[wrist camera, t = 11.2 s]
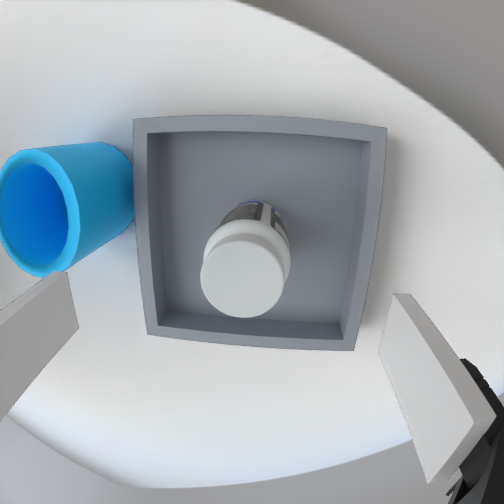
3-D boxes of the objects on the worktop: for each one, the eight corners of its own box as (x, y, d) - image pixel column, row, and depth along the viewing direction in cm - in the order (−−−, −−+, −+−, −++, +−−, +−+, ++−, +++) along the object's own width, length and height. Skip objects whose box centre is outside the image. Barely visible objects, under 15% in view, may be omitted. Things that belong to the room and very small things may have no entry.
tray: (159, 315, 26) (147, 334, 24) (150, 121, 21) (133, 119, 18) (347, 329, 25) (353, 350, 23) (373, 129, 20) (387, 128, 17)
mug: (146, 149, 22) (86, 155, 14) (133, 249, 25) (80, 293, 17) (34, 135, 22) (-32, 142, 14) (29, 220, 25) (-31, 247, 17)
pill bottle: (213, 249, 23) (180, 304, 15) (234, 189, 22) (208, 217, 14) (273, 272, 24) (269, 337, 16) (298, 214, 22) (308, 255, 14)
